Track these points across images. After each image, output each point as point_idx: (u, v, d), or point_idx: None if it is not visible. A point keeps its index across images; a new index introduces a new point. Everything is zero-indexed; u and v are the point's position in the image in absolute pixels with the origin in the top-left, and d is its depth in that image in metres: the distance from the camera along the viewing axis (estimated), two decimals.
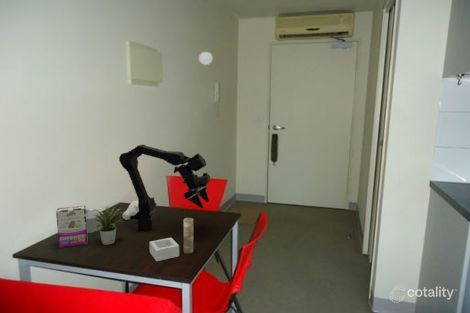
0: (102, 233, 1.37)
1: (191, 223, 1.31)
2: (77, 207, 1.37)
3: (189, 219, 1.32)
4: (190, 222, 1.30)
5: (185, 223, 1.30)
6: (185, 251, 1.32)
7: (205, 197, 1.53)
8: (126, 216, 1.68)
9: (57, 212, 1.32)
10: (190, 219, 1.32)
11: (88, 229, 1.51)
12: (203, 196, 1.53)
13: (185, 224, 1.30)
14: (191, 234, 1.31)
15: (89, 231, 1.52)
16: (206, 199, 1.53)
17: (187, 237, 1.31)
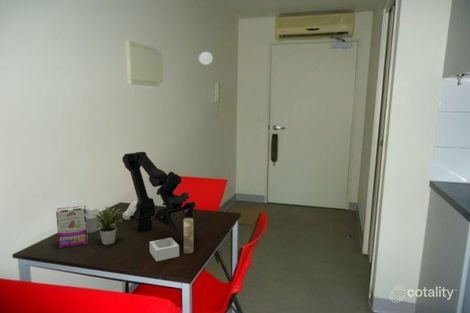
0: (102, 233, 1.37)
1: (191, 223, 1.31)
2: (77, 207, 1.37)
3: (189, 219, 1.32)
4: (190, 222, 1.30)
5: (185, 223, 1.30)
6: (185, 251, 1.32)
7: None
8: (126, 216, 1.68)
9: (57, 212, 1.32)
10: (190, 219, 1.32)
11: (88, 229, 1.51)
12: None
13: (185, 224, 1.30)
14: (191, 234, 1.31)
15: (89, 231, 1.52)
16: None
17: (187, 237, 1.31)
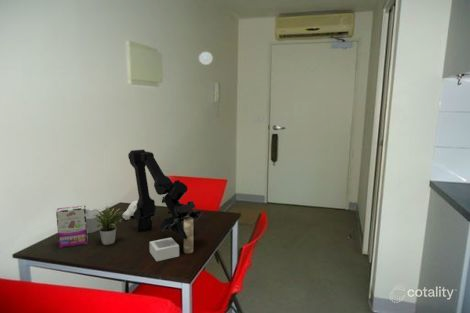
0: (102, 233, 1.37)
1: (191, 223, 1.31)
2: (77, 207, 1.37)
3: (189, 219, 1.32)
4: (190, 222, 1.30)
5: (185, 223, 1.30)
6: (185, 251, 1.32)
7: None
8: (126, 216, 1.68)
9: (57, 212, 1.32)
10: (190, 219, 1.32)
11: (88, 229, 1.51)
12: None
13: (185, 224, 1.30)
14: (191, 234, 1.31)
15: (89, 231, 1.52)
16: None
17: (187, 237, 1.31)
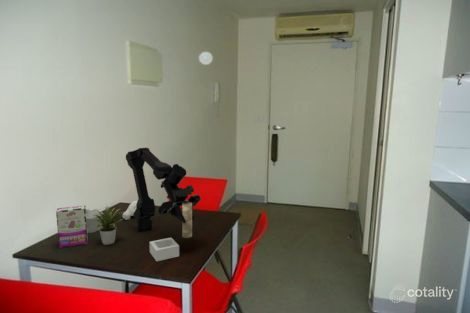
0: (102, 233, 1.37)
1: (190, 207, 1.29)
2: (77, 207, 1.37)
3: (188, 203, 1.30)
4: (189, 206, 1.29)
5: (184, 207, 1.29)
6: (184, 235, 1.31)
7: None
8: (126, 216, 1.68)
9: (57, 212, 1.32)
10: (189, 203, 1.30)
11: (88, 229, 1.51)
12: None
13: (184, 208, 1.29)
14: (190, 218, 1.30)
15: (89, 231, 1.51)
16: None
17: None
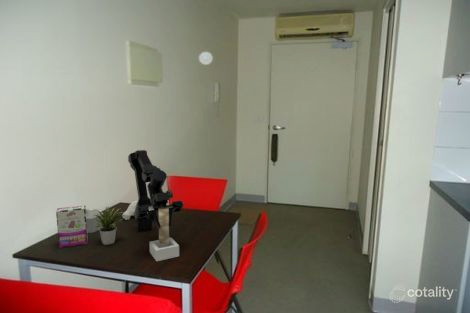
0: (102, 233, 1.37)
1: (165, 213, 1.26)
2: (77, 207, 1.37)
3: (165, 208, 1.28)
4: (163, 211, 1.26)
5: (159, 212, 1.27)
6: (159, 241, 1.29)
7: None
8: (126, 216, 1.68)
9: (57, 212, 1.32)
10: (165, 208, 1.28)
11: (88, 229, 1.51)
12: None
13: (159, 213, 1.27)
14: (165, 224, 1.27)
15: (89, 231, 1.51)
16: None
17: (160, 227, 1.27)
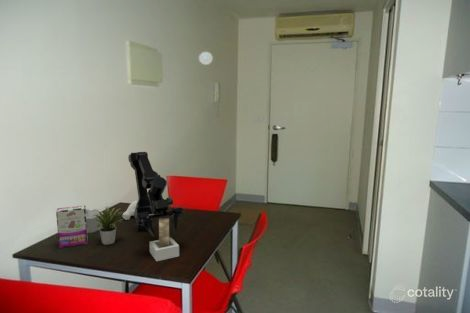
0: (102, 233, 1.37)
1: (165, 223, 1.27)
2: (77, 207, 1.37)
3: (165, 219, 1.28)
4: (164, 222, 1.27)
5: (159, 223, 1.27)
6: None
7: (173, 226, 1.32)
8: (126, 216, 1.68)
9: (57, 212, 1.32)
10: (165, 219, 1.28)
11: (88, 229, 1.51)
12: (173, 225, 1.33)
13: (159, 224, 1.27)
14: (165, 235, 1.28)
15: (89, 231, 1.51)
16: (174, 228, 1.31)
17: (160, 237, 1.28)
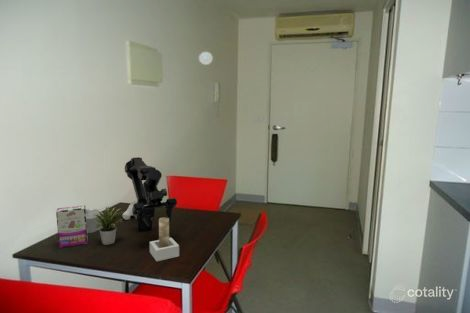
0: (102, 233, 1.37)
1: (165, 223, 1.27)
2: (77, 207, 1.37)
3: (165, 219, 1.28)
4: (164, 222, 1.27)
5: (159, 222, 1.27)
6: None
7: (168, 216, 1.39)
8: (126, 216, 1.68)
9: (57, 212, 1.32)
10: (165, 219, 1.28)
11: (88, 229, 1.51)
12: (167, 215, 1.40)
13: (159, 223, 1.27)
14: (165, 234, 1.28)
15: (89, 231, 1.51)
16: None
17: (160, 237, 1.28)
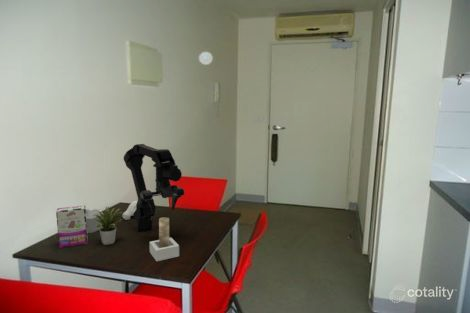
0: (102, 233, 1.37)
1: (165, 223, 1.27)
2: (77, 207, 1.37)
3: (165, 219, 1.28)
4: (164, 222, 1.27)
5: (159, 222, 1.27)
6: None
7: (172, 204, 1.46)
8: (126, 216, 1.68)
9: (57, 212, 1.32)
10: (165, 219, 1.28)
11: (88, 229, 1.51)
12: (172, 202, 1.47)
13: (159, 223, 1.27)
14: (165, 234, 1.28)
15: (89, 231, 1.51)
16: (172, 206, 1.46)
17: (161, 237, 1.28)
